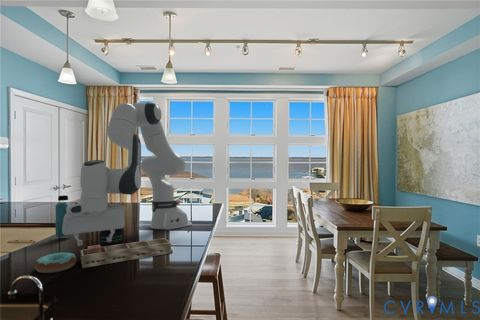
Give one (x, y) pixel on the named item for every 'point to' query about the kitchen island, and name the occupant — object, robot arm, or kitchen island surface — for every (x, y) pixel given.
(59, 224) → the beverage bottle
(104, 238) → the storage jar
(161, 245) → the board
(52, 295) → the kitchen island surface
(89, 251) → the count cube
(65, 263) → the donut
